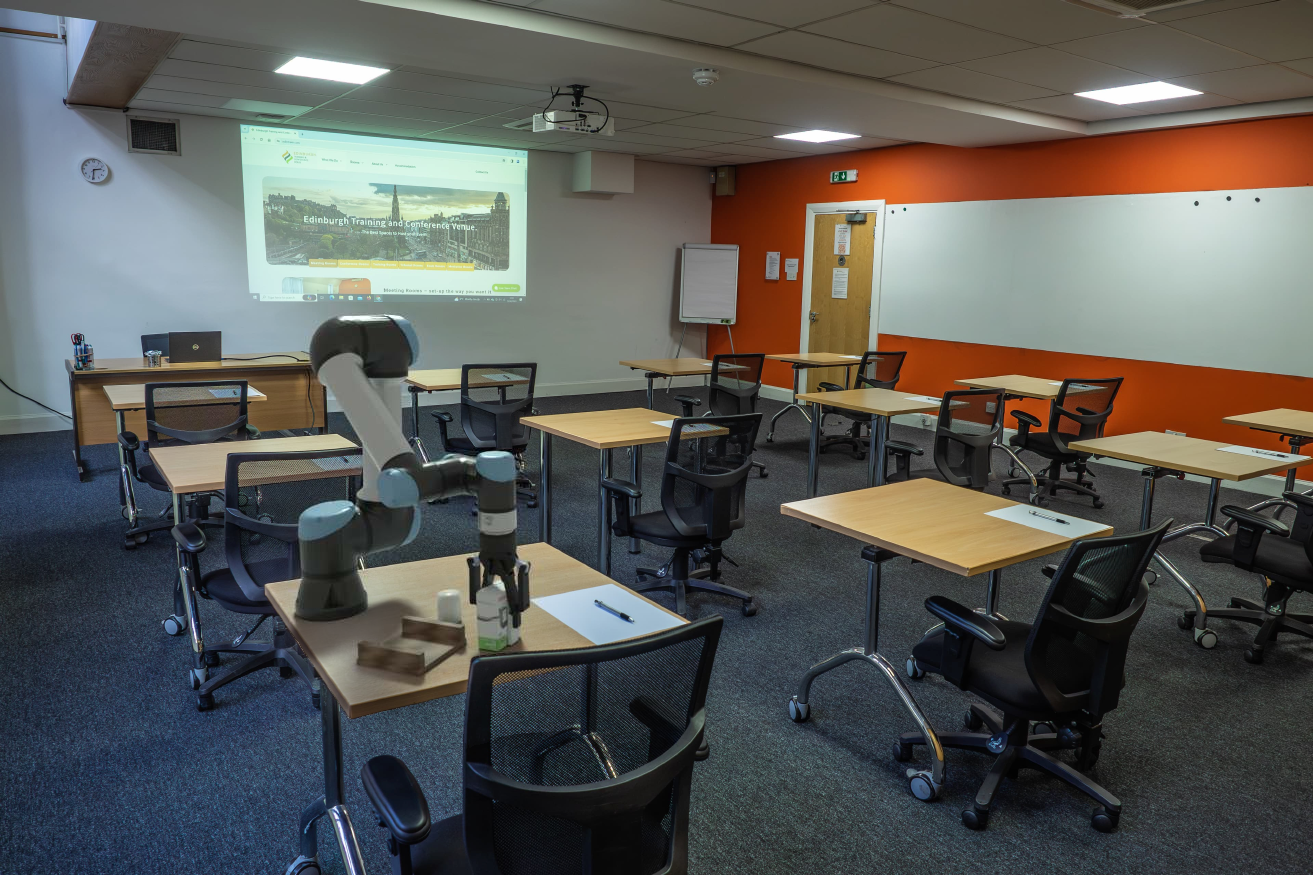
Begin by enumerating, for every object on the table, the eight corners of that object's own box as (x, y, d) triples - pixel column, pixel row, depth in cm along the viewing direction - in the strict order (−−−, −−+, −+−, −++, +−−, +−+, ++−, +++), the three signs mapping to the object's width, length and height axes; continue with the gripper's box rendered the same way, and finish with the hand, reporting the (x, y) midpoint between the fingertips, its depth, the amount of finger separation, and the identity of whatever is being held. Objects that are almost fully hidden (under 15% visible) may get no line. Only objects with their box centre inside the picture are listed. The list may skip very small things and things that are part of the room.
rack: (356, 664, 160) (355, 644, 159) (408, 632, 175) (407, 614, 174) (418, 676, 155) (417, 656, 155) (466, 642, 170) (466, 624, 169)
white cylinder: (433, 622, 180) (432, 595, 179) (446, 614, 185) (445, 588, 184) (453, 625, 179) (452, 599, 178) (466, 617, 183) (465, 591, 182)
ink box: (497, 652, 166) (495, 595, 164) (477, 648, 168) (474, 592, 166) (521, 636, 173) (519, 581, 171) (501, 632, 175) (499, 578, 173)
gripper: (447, 529, 166) (451, 640, 170) (529, 539, 160) (531, 654, 164) (468, 520, 173) (471, 626, 177) (547, 529, 167) (549, 639, 171)
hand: (500, 639), depth 171 cm, fingers closed on ink box, 5 cm apart
